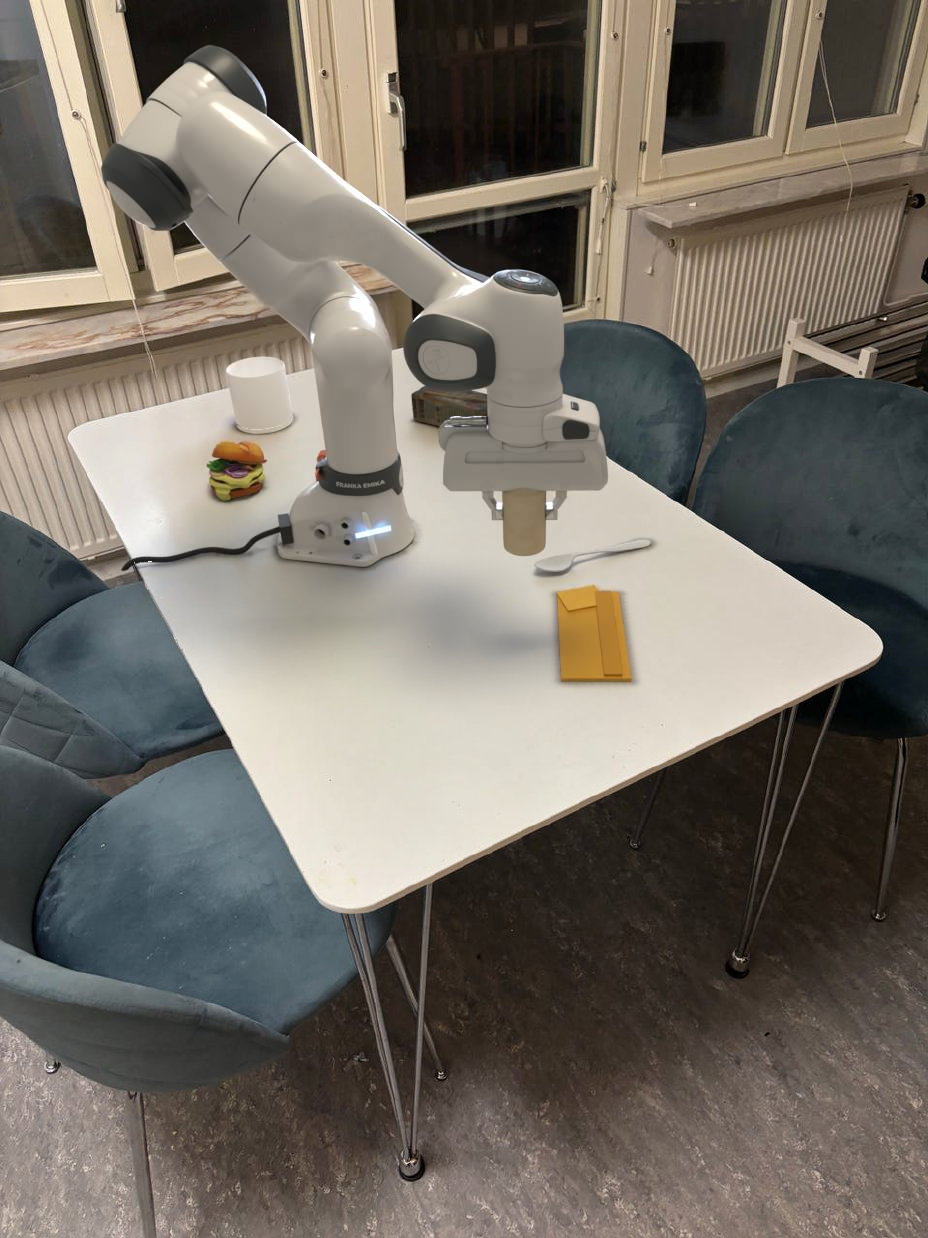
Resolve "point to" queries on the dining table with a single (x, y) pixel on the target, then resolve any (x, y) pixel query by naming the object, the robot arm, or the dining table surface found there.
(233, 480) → the cheeseburger
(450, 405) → the beverage carton
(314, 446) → the dining table surface
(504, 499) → the candle
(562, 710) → the dining table surface
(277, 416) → the cup
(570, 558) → the spoon
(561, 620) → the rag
